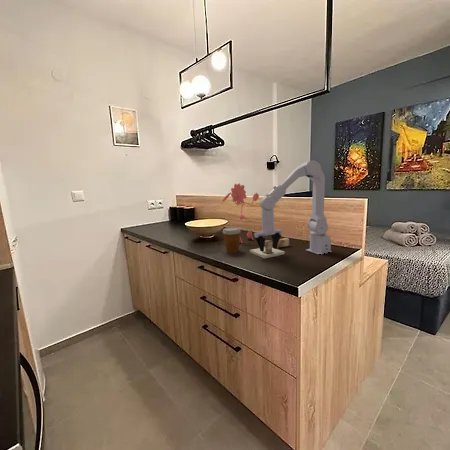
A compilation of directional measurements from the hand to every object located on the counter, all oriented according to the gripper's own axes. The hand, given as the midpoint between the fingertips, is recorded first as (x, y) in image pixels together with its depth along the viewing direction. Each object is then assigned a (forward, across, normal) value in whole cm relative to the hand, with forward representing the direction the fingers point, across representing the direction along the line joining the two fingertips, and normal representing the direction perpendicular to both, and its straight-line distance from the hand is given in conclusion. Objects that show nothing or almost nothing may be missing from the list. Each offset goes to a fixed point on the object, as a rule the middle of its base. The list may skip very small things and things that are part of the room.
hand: (268, 249), depth 123 cm
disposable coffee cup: (+3, -11, +17) cm, 20 cm away
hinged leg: (+3, +13, +8) cm, 16 cm away
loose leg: (+3, 0, 0) cm, 3 cm away
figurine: (+3, +4, +35) cm, 35 cm away
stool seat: (+3, +1, +3) cm, 4 cm away
